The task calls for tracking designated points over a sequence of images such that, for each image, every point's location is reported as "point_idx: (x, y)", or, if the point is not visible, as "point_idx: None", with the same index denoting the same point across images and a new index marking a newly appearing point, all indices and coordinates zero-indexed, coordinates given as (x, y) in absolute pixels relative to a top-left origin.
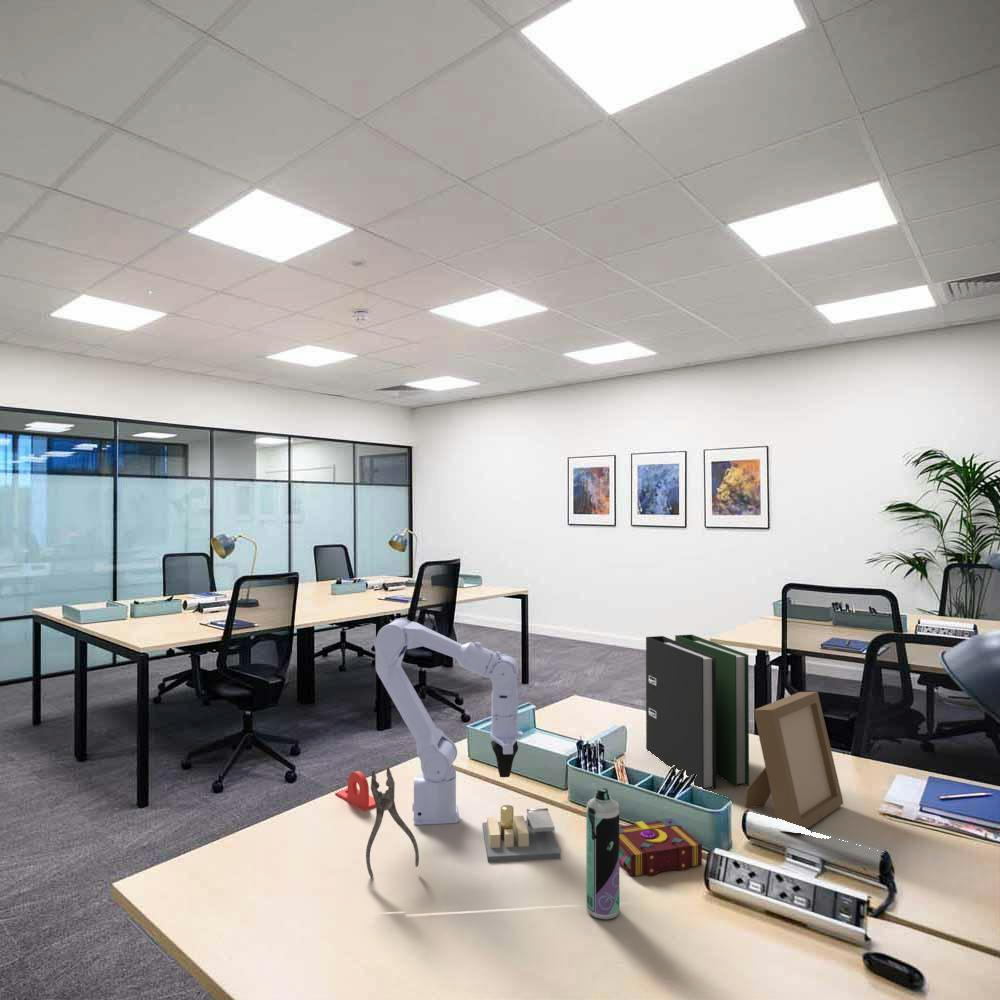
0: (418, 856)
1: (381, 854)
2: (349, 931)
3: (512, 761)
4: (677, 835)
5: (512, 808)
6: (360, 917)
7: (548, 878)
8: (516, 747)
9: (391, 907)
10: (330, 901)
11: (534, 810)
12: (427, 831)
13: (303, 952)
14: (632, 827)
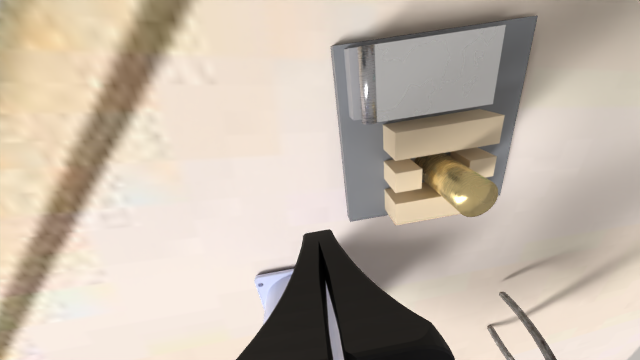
0: (516, 305)
1: None
2: (591, 314)
3: (363, 273)
4: None
5: (488, 182)
6: (570, 313)
7: (596, 57)
8: (442, 356)
9: (565, 291)
10: (526, 344)
11: (376, 97)
12: None
13: (605, 336)
14: None
